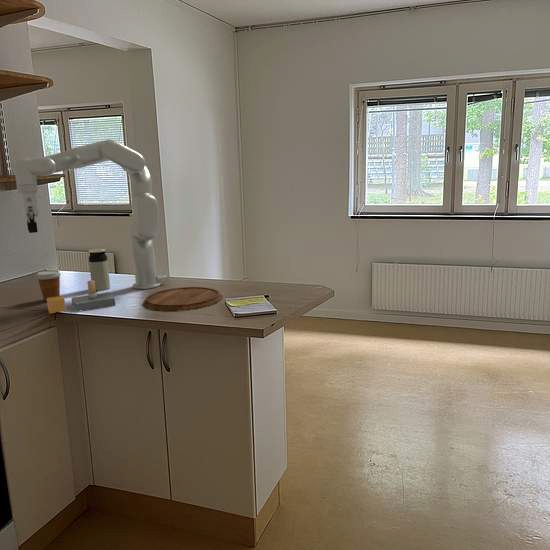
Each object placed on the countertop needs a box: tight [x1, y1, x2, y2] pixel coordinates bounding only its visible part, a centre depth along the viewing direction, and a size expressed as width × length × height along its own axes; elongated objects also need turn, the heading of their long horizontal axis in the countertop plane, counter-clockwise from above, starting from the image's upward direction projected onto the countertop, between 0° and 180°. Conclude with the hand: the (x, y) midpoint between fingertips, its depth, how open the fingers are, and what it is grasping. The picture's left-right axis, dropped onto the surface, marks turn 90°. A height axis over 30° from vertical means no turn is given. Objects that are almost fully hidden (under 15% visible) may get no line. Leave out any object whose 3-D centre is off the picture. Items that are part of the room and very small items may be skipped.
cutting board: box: [143, 286, 223, 312], centre depth 220 cm, size 32×32×2 cm
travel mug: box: [88, 248, 111, 291], centre depth 245 cm, size 8×8×18 cm
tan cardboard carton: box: [46, 295, 67, 315], centre depth 212 cm, size 6×6×5 cm
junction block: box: [71, 279, 116, 312], centre depth 217 cm, size 15×12×10 cm
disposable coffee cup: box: [36, 269, 62, 302], centre depth 229 cm, size 10×10×12 cm
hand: (32, 231), depth 221 cm, fingers open, 9 cm apart
